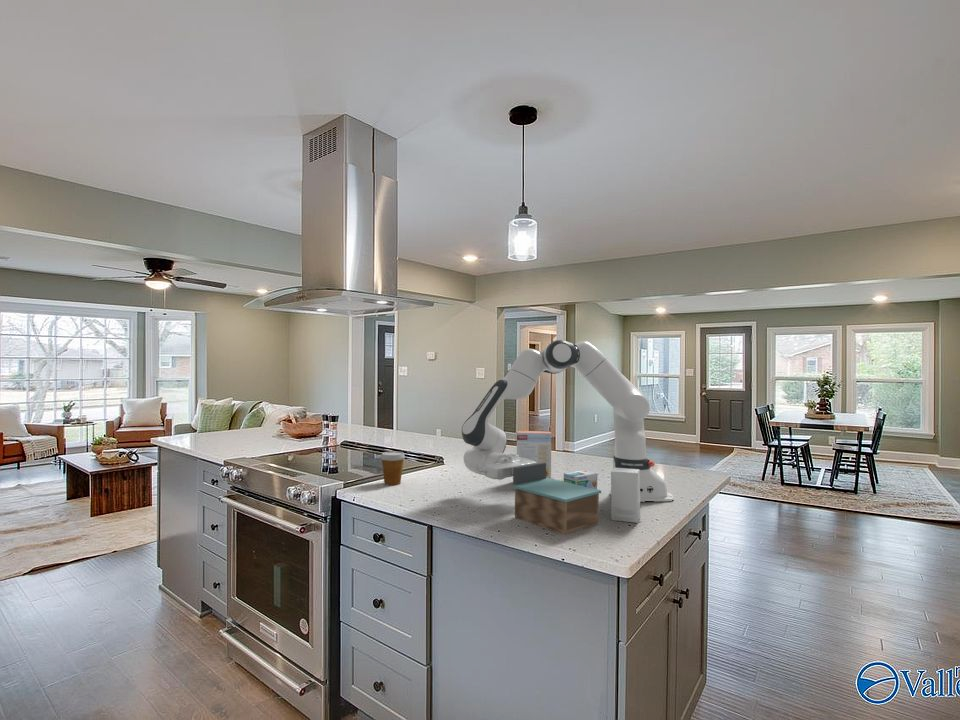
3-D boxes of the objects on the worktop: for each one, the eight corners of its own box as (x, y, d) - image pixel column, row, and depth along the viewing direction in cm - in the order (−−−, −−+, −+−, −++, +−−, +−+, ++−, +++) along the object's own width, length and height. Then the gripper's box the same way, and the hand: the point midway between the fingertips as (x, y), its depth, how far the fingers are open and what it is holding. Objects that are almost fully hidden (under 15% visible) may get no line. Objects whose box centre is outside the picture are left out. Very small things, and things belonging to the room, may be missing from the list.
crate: (514, 517, 158) (515, 488, 159) (548, 508, 169) (548, 481, 169) (564, 534, 143) (565, 502, 144) (598, 523, 154) (598, 493, 154)
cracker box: (550, 481, 208) (551, 431, 208) (551, 485, 202) (551, 433, 202) (516, 480, 209) (517, 430, 209) (515, 484, 203) (516, 431, 203)
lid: (509, 486, 160) (509, 467, 160) (545, 479, 171) (545, 461, 171) (565, 502, 143) (565, 481, 143) (601, 493, 154) (601, 473, 154)
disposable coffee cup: (384, 480, 206) (385, 450, 206) (407, 481, 204) (408, 451, 204) (376, 485, 196) (377, 454, 196) (400, 487, 195) (401, 455, 195)
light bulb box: (576, 508, 170) (577, 476, 170) (562, 504, 175) (562, 472, 175) (597, 504, 176) (598, 473, 176) (583, 499, 181) (583, 469, 181)
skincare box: (640, 518, 160) (641, 469, 160) (637, 524, 154) (638, 473, 154) (613, 514, 164) (614, 466, 164) (609, 520, 158) (610, 470, 158)
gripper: (476, 460, 169) (505, 467, 159) (519, 454, 183) (548, 460, 172) (476, 479, 169) (504, 487, 159) (518, 471, 182) (547, 478, 172)
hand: (527, 473), depth 165 cm, fingers closed
